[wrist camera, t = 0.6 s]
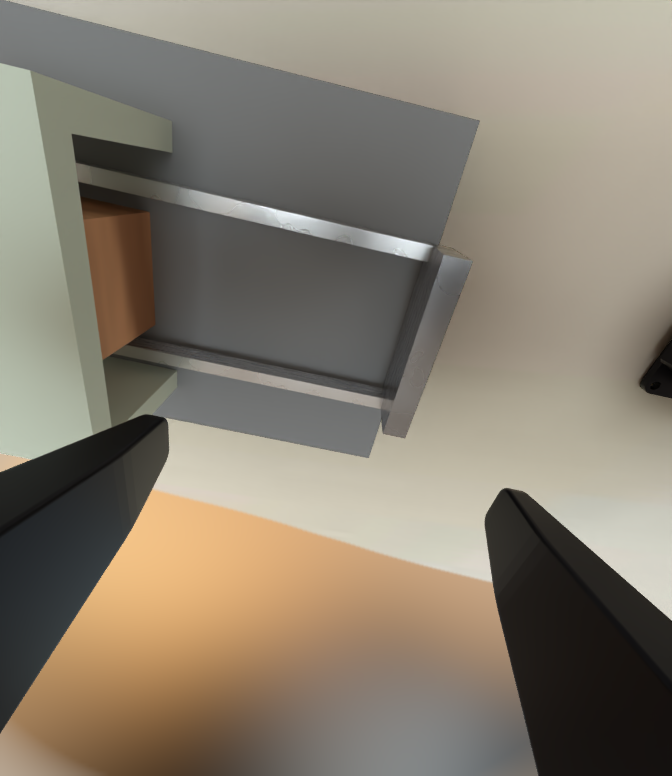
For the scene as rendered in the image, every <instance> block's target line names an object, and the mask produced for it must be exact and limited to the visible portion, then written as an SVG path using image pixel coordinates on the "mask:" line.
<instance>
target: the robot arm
mask: <svg viewBox="0 0 672 776" xmlns="http://www.w3.org/2000/svg"><path fill="white" fill-rule="evenodd" d="M654 382H655V383H654ZM652 383H654V384H653V385H651V384H652ZM640 387H641V388H642V389H643V390H644V391H646V392H647V393H650V394H654V395H659V396H664V397H668V398H672V340H671V341H670V342H669V344H668V345H667V346H666V348H665V349H664V351H663V352H662V353H661V355H660V356H659V357H658V359H657V360H656V362H655V363H654V364H653V366H652V367H651V368H650V370H649V371H648V373H647V374H646V375H645V377H644V378H643V379H642V381H641V383H640ZM168 454H169V434H168V422H167V420H166V419H165V418H164V417H159V416H155V415H150V414H144V415H141V416H138V417H136V418H133V419H131V420H128V421H126V422H123V423H121V424H118V425H116V426H113V427H111V428H108V429H106V430H104V431H101V432H99V433H96V434H94V435H91V436H89V437H86V438H84V439H81V440H79V441H76V442H74V443H71V444H69V445H66V446H64V447H62V448H59V449H57V450H54V451H52V452H49V453H47V454H44V455H42V456H39V457H37V458H34V459H32V460H30V461H27V462H25V463H22V464H20V465H17V466H15V467H12V468H10V469H8V470H5V471H2V472H0V733H1V731H2V730H3V728H4V727H5V725H6V724H7V722H8V721H9V719H10V718H11V716H12V714H13V713H14V711H15V710H16V708H17V707H18V705H19V704H20V702H21V700H22V699H23V697H24V696H25V694H26V693H27V691H28V689H29V688H30V687H31V685H32V683H33V682H34V680H35V679H36V677H37V676H38V674H39V673H40V671H41V669H42V668H43V666H44V665H45V663H46V662H47V660H48V659H49V657H50V655H51V654H52V652H53V651H54V649H55V648H56V646H57V645H58V643H59V642H60V640H61V638H62V637H63V635H64V634H65V632H66V631H67V629H68V627H69V626H70V624H71V623H72V621H73V620H74V618H75V617H76V615H77V614H78V612H79V610H80V609H81V607H82V606H83V604H84V603H85V601H86V600H87V598H88V597H89V595H90V593H91V592H92V590H93V589H94V587H95V586H96V584H97V583H98V581H99V580H100V578H101V576H102V575H103V573H104V571H105V570H106V569H107V567H108V566H109V564H110V562H111V561H112V559H113V558H114V556H115V555H116V553H117V552H118V550H119V548H120V547H121V545H122V544H123V542H124V541H125V539H126V538H127V536H128V534H129V532H130V531H131V529H132V528H133V526H134V524H135V522H136V520H137V518H138V516H139V514H140V512H141V510H142V508H143V506H144V504H145V502H146V500H147V498H148V496H149V494H150V492H151V490H152V488H153V486H154V484H155V482H156V480H157V478H158V476H159V474H160V472H161V470H162V468H163V466H164V464H165V462H166V460H167V457H168ZM485 531H486V538H487V545H488V552H489V559H490V567H491V574H492V581H493V587H494V593H495V598H496V603H497V608H498V612H499V616H500V621H501V624H502V629H503V633H504V637H505V641H506V645H507V649H508V653H509V657H510V661H511V665H512V670H513V674H514V678H515V682H516V686H517V690H518V694H519V698H520V702H521V706H522V710H523V715H524V719H525V723H526V727H527V731H528V735H529V739H530V743H531V747H532V751H533V755H534V759H535V763H536V768H537V772H538V776H672V621H671V620H670V619H669V618H668V617H667V616H666V615H665V614H663V613H662V612H661V611H660V610H659V609H658V608H657V607H655V606H654V605H653V604H652V603H651V602H650V601H649V600H648V599H646V598H645V597H644V596H643V595H642V594H641V593H640V592H638V591H637V590H636V589H635V588H634V587H633V586H632V585H630V584H629V583H628V582H627V581H626V580H625V579H624V578H622V577H621V576H620V575H619V574H618V573H617V572H616V571H614V570H613V569H612V568H611V567H610V566H609V565H608V564H606V563H605V562H604V561H603V560H602V559H601V558H600V557H598V556H597V555H596V554H595V553H594V552H593V551H592V550H591V549H589V548H588V547H587V546H586V545H585V544H584V543H583V542H581V541H580V540H579V539H578V538H577V537H576V536H575V535H573V534H572V533H571V532H570V531H569V530H568V529H567V528H565V527H564V526H563V525H562V524H561V523H560V522H559V521H557V520H556V519H555V518H554V517H553V516H552V515H551V514H549V513H548V512H547V511H546V510H545V509H544V508H543V507H542V506H540V505H539V504H538V503H537V502H536V501H535V500H534V499H532V498H531V497H530V496H529V495H528V494H527V493H525V492H523V491H519V490H514V489H510V488H504V489H502V490H501V491H500V492H499V494H498V495H497V497H496V499H495V500H494V502H493V504H492V505H491V507H490V508H489V510H488V512H487V514H486V517H485Z"/></svg>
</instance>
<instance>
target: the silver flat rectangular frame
mask: <svg viewBox="0 0 672 776" xmlns="http://www.w3.org/2000/svg"><path fill="white" fill-rule="evenodd" d="M75 163H76V171H77V178H78V182H82V183H87V184H91V185H95V186H100V187H104V188H108V189H113V190H117V191H121V192H126V193H130V194H134V195H139V196H143V197H147V198H152V199H156V200H160V201H165V202H169V203H173V204H178V205H182V206H186V207H191V208H195V209H200V210H204V211H208V212H213V213H217V214H221V215H226V216H230V217H234V218H239V219H243V220H247V221H252V222H256V223H260V224H265V225H269V226H273V227H278V228H282V229H286V230H291V231H295V232H299V233H304V234H308V235H312V236H317V237H321V238H325V239H330V240H334V241H338V242H343V243H347V244H352V245H356V246H360V247H365V248H369V249H373V250H378V251H382V252H386V253H391V254H395V255H399V256H404V257H408V258H412V259H417V260H421V261H423V262H422V265H421V268H420V272H419V275H418V278H417V281H416V284H415V287H414V291H413V294H412V297H411V300H410V303H409V306H408V310H407V313H406V316H405V319H404V322H403V325H402V329H401V332H400V335H399V338H398V341H397V344H396V348H395V351H394V354H393V357H392V360H391V364H390V367H389V370H388V373H387V376H386V379H385V383H384V386H383V388H378V387H373V386H368V385H364V384H359V383H354V382H349V381H345V380H340V379H335V378H330V377H326V376H321V375H316V374H311V373H306V372H302V371H297V370H292V369H287V368H283V367H278V366H273V365H268V364H264V363H259V362H254V361H249V360H245V359H240V358H235V357H230V356H226V355H221V354H216V353H211V352H206V351H202V350H197V349H192V348H187V347H183V346H178V345H173V344H168V343H164V342H159V341H154V340H149V339H145V338H140V337H137V338H135V339H134V340H132V341H131V342H129V343H128V344H126V345H125V346H123V347H122V348H120V349H119V350H117V351H116V352H114V353H113V354H117V355H122V356H127V357H131V358H136V359H141V360H146V361H151V362H156V363H160V364H165V365H170V366H175V367H180V368H185V369H189V370H194V371H199V372H204V373H209V374H214V375H218V376H223V377H228V378H233V379H238V380H243V381H247V382H252V383H257V384H262V385H267V386H272V387H276V388H281V389H286V390H291V391H296V392H301V393H305V394H310V395H315V396H320V397H325V398H330V399H334V400H339V401H344V402H349V403H354V404H359V405H363V406H368V407H373V408H378V409H381V419H382V430H383V434H386V435H391V436H396V437H401V438H405V437H406V434H407V432H408V429H409V427H410V424H411V421H412V419H413V416H414V414H415V411H416V408H417V406H418V403H419V400H420V398H421V395H422V393H423V390H424V387H425V385H426V382H427V380H428V377H429V374H430V372H431V369H432V367H433V364H434V361H435V359H436V356H437V354H438V351H439V348H440V346H441V343H442V340H443V338H444V335H445V333H446V330H447V327H448V325H449V322H450V320H451V317H452V314H453V312H454V309H455V307H456V304H457V301H458V299H459V296H460V294H461V291H462V288H463V286H464V283H465V280H466V278H467V275H468V273H469V270H470V267H471V265H472V262H473V261H472V260H470V259H469V258H467V257H465V256H464V255H462V254H461V253H459V252H458V251H456V250H455V249H453V248H450V247H446V246H441V245H437V244H433V243H429V242H424V241H420V240H416V239H411V238H407V237H403V236H399V235H394V234H390V233H386V232H381V231H377V230H373V229H369V228H364V227H360V226H356V225H351V224H347V223H343V222H338V221H334V220H330V219H326V218H321V217H317V216H313V215H308V214H304V213H300V212H296V211H291V210H287V209H283V208H278V207H274V206H270V205H266V204H261V203H257V202H253V201H248V200H244V199H240V198H236V197H231V196H227V195H223V194H218V193H214V192H210V191H206V190H201V189H197V188H193V187H188V186H184V185H180V184H176V183H171V182H167V181H163V180H158V179H154V178H150V177H146V176H141V175H137V174H133V173H128V172H124V171H120V170H116V169H111V168H107V167H103V166H98V165H94V164H90V163H86V162H81V161H77V160H75Z"/></svg>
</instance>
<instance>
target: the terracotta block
mask: <svg viewBox="0 0 672 776" xmlns="http://www.w3.org/2000/svg"><path fill="white" fill-rule="evenodd" d="M80 200H81V207H82V214H83V222H84V229H85V236H86V244H87V251H88V258H89V265H90V273H91V280H92V287H93V295H94V302H95V309H96V316H97V324H98V331H99V338H100V346H101V353H102V360H104V359H105V358H107V357H108V356H110V355H111V354H113V353H114V352H116V351H117V350H119V349H120V348H122V347H123V346H125V345H126V344H128V343H129V342H131V341H132V340H134V339H135V338H137V337H138V336H139V335H141V334H142V333H144V332H145V331H147V330H148V329H150V328H151V327H153V326H154V325H155V306H154V286H153V267H152V247H151V228H150V212H147V211H143V210H138V209H134V208H130V207H125V206H121V205H116V204H112V203H108V202H103V201H99V200H95V199H90V198H86V197H81V196H80Z"/></svg>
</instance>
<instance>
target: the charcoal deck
mask: <svg viewBox="0 0 672 776" xmlns="http://www.w3.org/2000/svg"><path fill="white" fill-rule="evenodd" d="M0 63H2V64H6V65H10V66H14V67H18V68H22V69H26V70H30V71H33V72H36V73H39V74H42V75H44V76H47V77H50V78H53V79H56V80H58V81H61V82H64V83H67V84H70V85H72V86H75V87H78V88H81V89H84V90H86V91H89V92H92V93H95V94H98V95H100V96H103V97H106V98H109V99H112V100H114V101H117V102H120V103H123V104H125V105H128V106H131V107H134V108H137V109H139V110H142V111H145V112H148V113H151V114H153V115H156V116H159V117H162V118H165V119H167V120H170V121H172V153H171V152H166V151H161V150H155V149H150V148H145V147H139V146H134V145H129V144H124V143H118V142H113V141H108V140H103V139H97V138H92V137H87V136H81V135H76V134H72V141H73V149H74V156H75V160H77V161H81V162H86V163H90V164H94V165H98V166H103V167H107V168H111V169H116V170H120V171H124V172H128V173H133V174H137V175H141V176H146V177H150V178H154V179H158V180H163V181H167V182H171V183H176V184H180V185H184V186H188V187H193V188H197V189H201V190H206V191H210V192H214V193H218V194H223V195H227V196H231V197H236V198H240V199H244V200H248V201H253V202H257V203H261V204H266V205H270V206H274V207H278V208H283V209H287V210H291V211H296V212H300V213H304V214H308V215H313V216H317V217H321V218H326V219H330V220H334V221H338V222H343V223H347V224H351V225H356V226H360V227H364V228H369V229H373V230H377V231H381V232H386V233H390V234H394V235H399V236H403V237H407V238H411V239H416V240H420V241H424V242H429V243H433V244H437V245H439V243H440V240H441V237H442V234H443V231H444V228H445V225H446V222H447V219H448V216H449V213H450V210H451V207H452V204H453V201H454V197H455V194H456V191H457V188H458V185H459V182H460V179H461V176H462V173H463V170H464V167H465V164H466V161H467V158H468V155H469V152H470V149H471V146H472V143H473V140H474V137H475V134H476V131H477V128H478V125H479V122H480V121H479V120H475V119H471V118H467V117H463V116H459V115H455V114H451V113H447V112H443V111H439V110H435V109H431V108H427V107H424V106H420V105H416V104H412V103H408V102H404V101H400V100H396V99H392V98H388V97H384V96H380V95H376V94H372V93H368V92H364V91H360V90H356V89H352V88H349V87H345V86H341V85H337V84H333V83H329V82H325V81H321V80H317V79H313V78H309V77H305V76H301V75H297V74H293V73H289V72H285V71H281V70H278V69H274V68H270V67H266V66H262V65H258V64H254V63H250V62H246V61H242V60H238V59H234V58H230V57H226V56H222V55H218V54H214V53H210V52H206V51H203V50H199V49H195V48H191V47H187V46H183V45H179V44H175V43H171V42H167V41H163V40H159V39H155V38H151V37H147V36H143V35H139V34H135V33H131V32H128V31H124V30H120V29H116V28H112V27H108V26H104V25H100V24H96V23H92V22H88V21H84V20H80V19H76V18H72V17H68V16H64V15H60V14H56V13H53V12H49V11H45V10H41V9H37V8H33V7H29V6H25V5H21V4H17V3H13V2H9V1H5V0H0ZM78 185H79V192H80V196H81V197H86V198H90V199H95V200H99V201H103V202H108V203H112V204H116V205H121V206H125V207H130V208H134V209H138V210H143V211H147V212H150V228H151V247H152V267H153V286H154V306H155V325H154V326H153V327H151V328H150V329H148V330H147V331H145V332H144V333H142V334H141V335H139V336H138V337H140V338H145V339H149V340H154V341H159V342H164V343H168V344H173V345H178V346H183V347H187V348H192V349H197V350H202V351H206V352H211V353H216V354H221V355H226V356H230V357H235V358H240V359H245V360H249V361H254V362H259V363H264V364H268V365H273V366H278V367H283V368H287V369H292V370H297V371H302V372H306V373H311V374H316V375H321V376H326V377H330V378H335V379H340V380H345V381H349V382H354V383H359V384H364V385H368V386H373V387H378V388H383V386H384V383H385V379H386V376H387V373H388V370H389V367H390V364H391V360H392V357H393V354H394V351H395V348H396V344H397V341H398V338H399V335H400V332H401V329H402V325H403V322H404V319H405V316H406V313H407V310H408V306H409V303H410V300H411V297H412V294H413V291H414V287H415V284H416V281H417V278H418V275H419V272H420V268H421V265H422V262H423V261H421V260H417V259H412V258H408V257H404V256H399V255H395V254H391V253H386V252H382V251H378V250H373V249H369V248H365V247H360V246H356V245H352V244H347V243H343V242H338V241H334V240H330V239H325V238H321V237H317V236H312V235H308V234H304V233H299V232H295V231H291V230H286V229H282V228H278V227H273V226H269V225H265V224H260V223H256V222H252V221H247V220H243V219H239V218H234V217H230V216H226V215H221V214H217V213H213V212H208V211H204V210H200V209H195V208H191V207H186V206H182V205H178V204H173V203H169V202H165V201H160V200H156V199H152V198H147V197H143V196H139V195H134V194H130V193H126V192H121V191H117V190H113V189H108V188H104V187H100V186H95V185H91V184H87V183H82V182H78ZM109 357H114V358H119V359H124V360H129V361H134V362H138V363H143V364H148V365H153V366H158V367H163V368H168V369H172V370H177V388H176V389H175V390H174V391H173V392H172V393H171V394H170V395H169V397H168V398H167V399H166V400H165V401H164V402H163V403H162V404H161V405H160V406H159V407H158V409H157V410H156V411H155V412H154V413H153V414H152V415H155V416H160V417H165V418H170V419H175V420H180V421H185V422H190V423H195V424H200V425H205V426H210V427H215V428H220V429H225V430H230V431H235V432H240V433H245V434H250V435H255V436H260V437H265V438H270V439H275V440H280V441H286V442H291V443H296V444H301V445H306V446H311V447H316V448H321V449H326V450H331V451H336V452H341V453H346V454H351V455H356V456H361V457H366V458H369V455H370V452H371V449H372V446H373V443H374V440H375V437H376V434H377V431H378V428H379V425H380V422H381V409H378V408H373V407H368V406H363V405H359V404H354V403H349V402H344V401H339V400H334V399H330V398H325V397H320V396H315V395H310V394H305V393H301V392H296V391H291V390H286V389H281V388H276V387H272V386H267V385H262V384H257V383H252V382H247V381H243V380H238V379H233V378H228V377H223V376H218V375H214V374H209V373H204V372H199V371H194V370H189V369H185V368H180V367H175V366H170V365H165V364H160V363H156V362H151V361H146V360H141V359H136V358H131V357H127V356H122V355H117V354H111V355H110V356H109Z"/></svg>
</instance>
